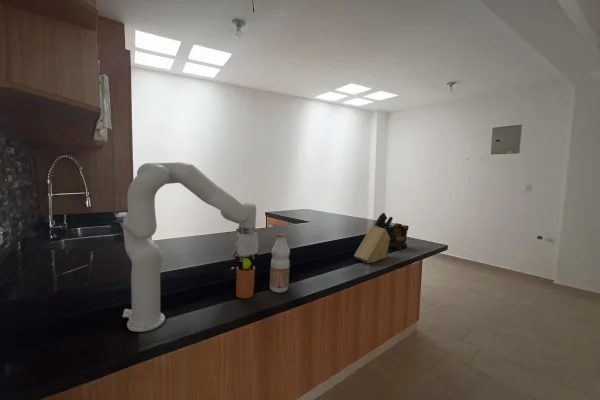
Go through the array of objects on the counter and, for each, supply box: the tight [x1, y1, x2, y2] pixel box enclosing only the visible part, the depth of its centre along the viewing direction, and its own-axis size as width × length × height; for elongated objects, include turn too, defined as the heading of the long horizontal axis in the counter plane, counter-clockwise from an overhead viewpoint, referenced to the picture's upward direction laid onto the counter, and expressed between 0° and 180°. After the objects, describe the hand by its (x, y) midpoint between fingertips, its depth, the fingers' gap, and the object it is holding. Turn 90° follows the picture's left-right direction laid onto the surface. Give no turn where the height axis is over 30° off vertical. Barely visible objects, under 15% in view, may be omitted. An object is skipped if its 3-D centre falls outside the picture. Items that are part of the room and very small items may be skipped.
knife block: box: [353, 212, 396, 264], centre depth 202 cm, size 11×35×31 cm, turn 133°
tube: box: [235, 265, 256, 299], centre depth 137 cm, size 8×8×13 cm
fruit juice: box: [269, 232, 291, 293], centre depth 144 cm, size 9×9×28 cm
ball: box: [242, 257, 251, 269], centre depth 136 cm, size 5×5×5 cm
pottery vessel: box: [387, 222, 409, 250], centre depth 232 cm, size 25×11×20 cm, turn 132°
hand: (245, 267), depth 136 cm, fingers closed on ball, 4 cm apart
